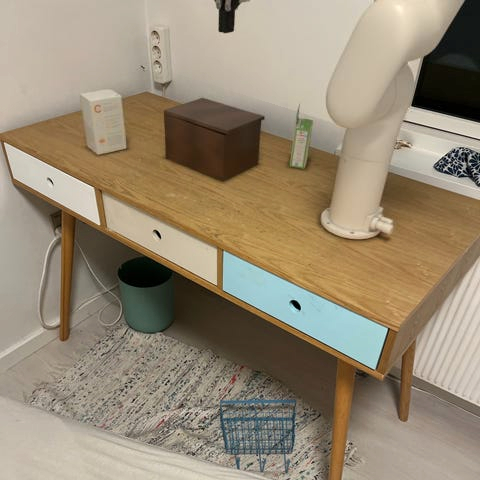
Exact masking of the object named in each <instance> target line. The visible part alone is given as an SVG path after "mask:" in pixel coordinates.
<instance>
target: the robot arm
mask: <svg viewBox="0 0 480 480" xmlns="http://www.w3.org/2000/svg"><path fill="white" fill-rule="evenodd" d="M213 1H214V3H215V7H216V9H217V10H218V33H222V34H230V33H233V32H234V31H235V25H236V24H235V23H236V21H235V20H236V11H237V10H238V9H239V6H240V5H242V3H249V2H250V1H251V0H213ZM465 1H466V0H375V1H373V2H372V3H370V5H369V6H368V7H367V8H366V9H365V10H364V12H363V13H362V15H361V16H360V17H359V19H358V21H357V22H356V24H355V26H354V28H353V30H352V32H351V34H350V36H349V39H348V41H347V43H346V45H345V47H344V48H343V51H342V53H341V55H340V57H339V59H338V61H337V64H336V65H335V67H334V70H333V72H332V74H331V77H330V79H329V81H328V84H327V87H326V93H325V107H326V111H327V114H328V116H329V118H330V119H331V121H333V122H334V124H336V125H337V126H339V127H342V128H344V129H345V131H344V135H343V140H342V144H341V149H340V154H339V160H338V165H337V170H336V176H335V181H334V186H333V191H332V197H331V202H330V206H329V207H327V208H325V209H324V210H323V211H322V212H321V215H320V222H321V225H322V227H323V228H324V229H326V231H327V232H330V233H331V234H333V235H335V236H337V237H340V238H344V239H351V240H365V239H370V238H374V237H376V236H377V235H379V234H380V233H383V234H386V235H389V236H391V235H392V233H393V232H394V229H395V225H393V224H394V219H391V218H388V217H385V216H384V214H383V211H384V207H382V206H380V205H381V200H382V196H383V193H384V190H385V185H386V181H387V177H388V173H389V169H390V166H391V162H392V158H393V156H394V151H395V147H396V143H397V140H398V136H399V134H400V131H401V128H402V125H403V122H404V120H405V117H406V116H407V113H408V111H409V108H410V106H411V102H412V99H413V96H414V91H415V78H414V73H413V71H412V68H411V66H410V65H409V64H408V63H409V62H410V63H411V62H412V61H416V60H418V59H422V58H424V57H426V56H427V55H429V54H430V53H431V52H433V51H434V50H435V49H436V47H438V45H439V43H440V42H441V40H442V38H443V37H444V35H445V33H446V32H447V30H448V28H450V25H451V23H452V22H453V20H454V19H455V17H456V16H457V14H458V12H459V11H460V9H461V7H462V6H463V4H464V3H465Z"/></svg>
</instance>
